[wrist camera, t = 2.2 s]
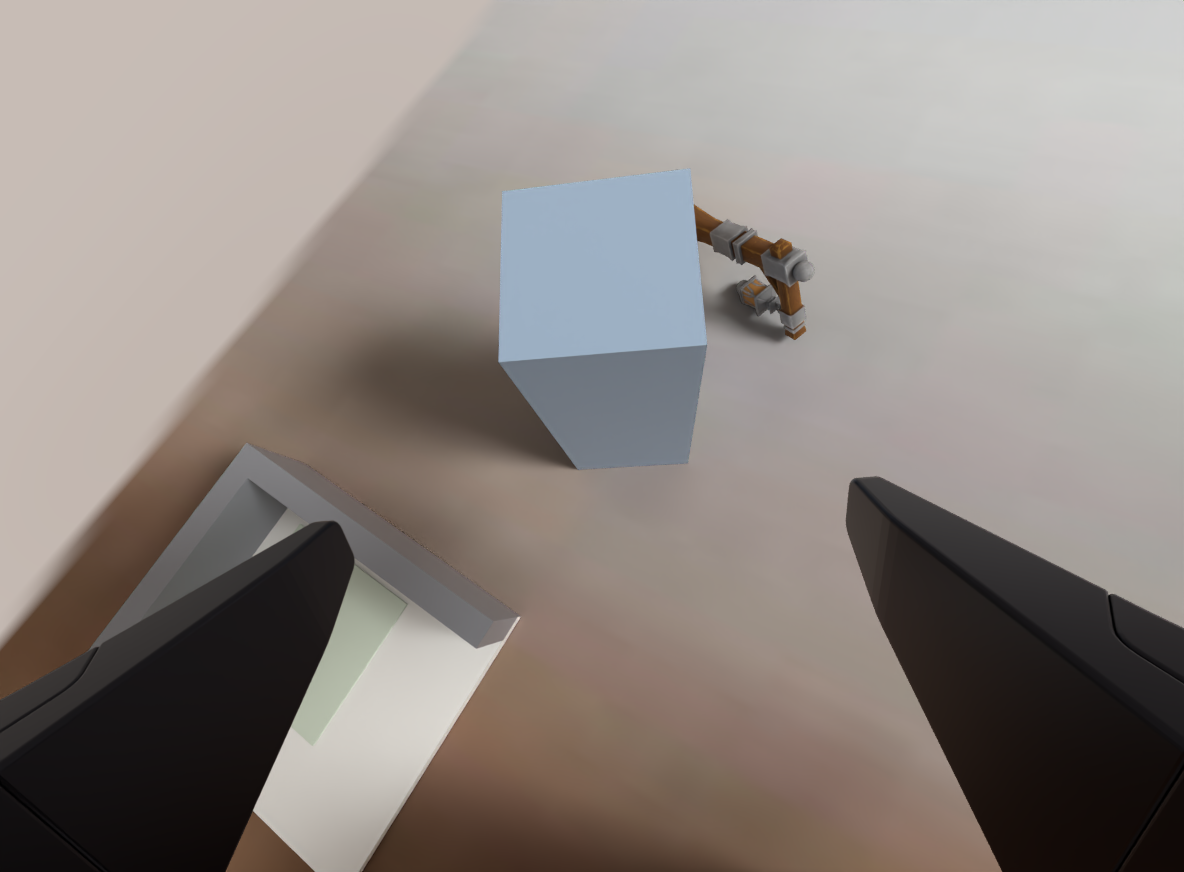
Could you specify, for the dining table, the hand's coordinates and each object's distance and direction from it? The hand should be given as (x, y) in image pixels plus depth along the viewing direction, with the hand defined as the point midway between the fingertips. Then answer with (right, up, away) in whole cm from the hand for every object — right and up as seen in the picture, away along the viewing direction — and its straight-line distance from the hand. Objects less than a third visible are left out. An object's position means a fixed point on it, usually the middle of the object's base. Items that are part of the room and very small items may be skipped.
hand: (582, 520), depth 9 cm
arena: (-11, -7, +12) cm, 18 cm away
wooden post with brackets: (+6, +9, +15) cm, 18 cm away
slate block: (+2, +2, +13) cm, 14 cm away
